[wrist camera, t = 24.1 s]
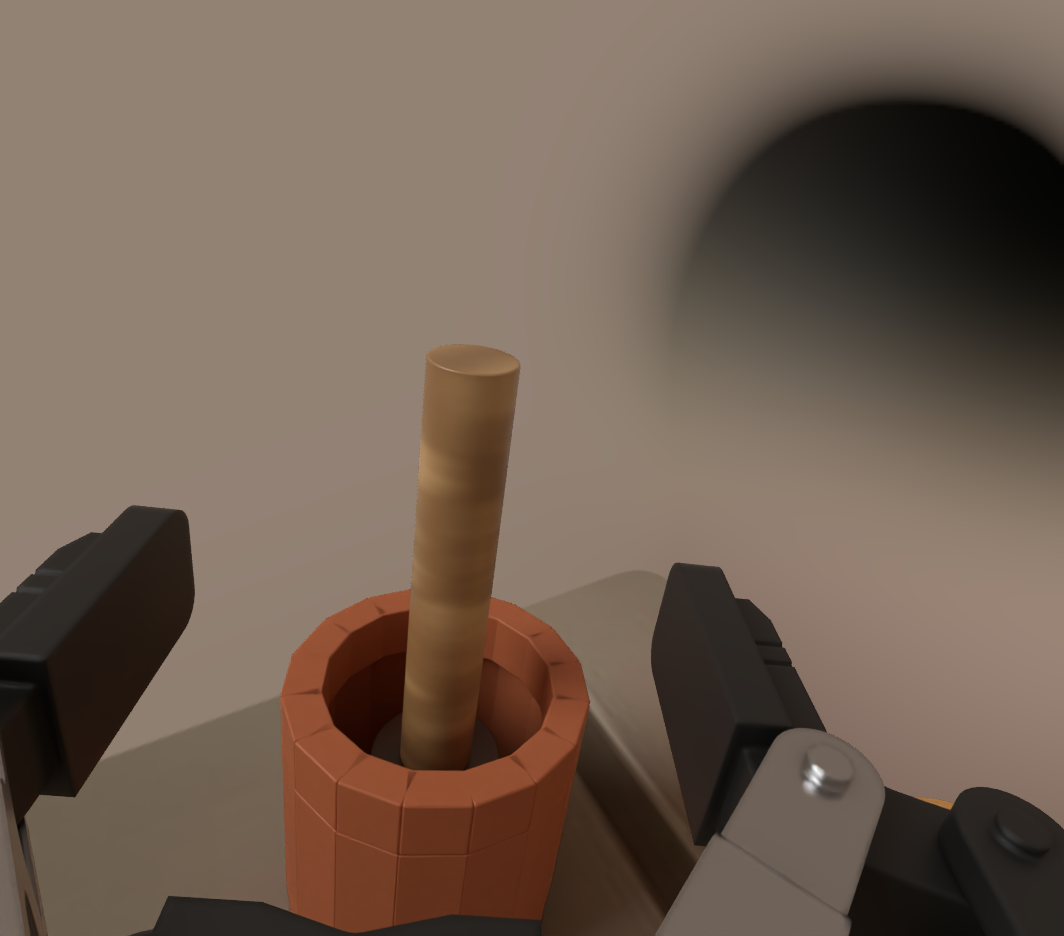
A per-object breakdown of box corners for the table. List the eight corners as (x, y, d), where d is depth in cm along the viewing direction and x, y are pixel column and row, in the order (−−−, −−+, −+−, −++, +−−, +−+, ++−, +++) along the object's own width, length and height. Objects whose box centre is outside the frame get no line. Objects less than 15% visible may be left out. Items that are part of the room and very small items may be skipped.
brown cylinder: (339, 881, 26) (347, 353, 17) (413, 797, 29) (452, 323, 21) (437, 951, 24) (503, 404, 15) (504, 852, 28) (587, 362, 19)
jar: (236, 878, 26) (219, 671, 22) (427, 737, 33) (442, 558, 29) (413, 1093, 21) (437, 879, 17) (594, 873, 28) (643, 682, 24)
